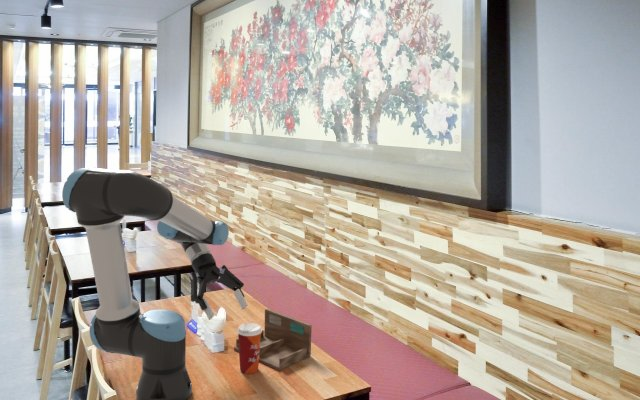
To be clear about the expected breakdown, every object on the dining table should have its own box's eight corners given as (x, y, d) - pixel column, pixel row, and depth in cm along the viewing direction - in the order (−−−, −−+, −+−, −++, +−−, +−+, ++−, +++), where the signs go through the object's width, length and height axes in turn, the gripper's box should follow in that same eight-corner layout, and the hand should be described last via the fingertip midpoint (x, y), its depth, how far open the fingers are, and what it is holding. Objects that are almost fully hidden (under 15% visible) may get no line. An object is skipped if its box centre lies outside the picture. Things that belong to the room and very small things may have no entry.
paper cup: (256, 376, 161) (257, 333, 159) (233, 373, 163) (233, 330, 161) (264, 365, 169) (265, 323, 167) (241, 362, 170) (242, 321, 168)
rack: (278, 370, 166) (279, 337, 164) (233, 349, 180) (234, 318, 178) (310, 356, 177) (311, 324, 175) (266, 337, 191) (266, 308, 190)
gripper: (225, 258, 190) (252, 309, 182) (164, 271, 171) (191, 328, 163) (235, 246, 185) (263, 297, 178) (173, 258, 167) (201, 316, 159)
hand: (229, 312), depth 171 cm, fingers open, 13 cm apart
